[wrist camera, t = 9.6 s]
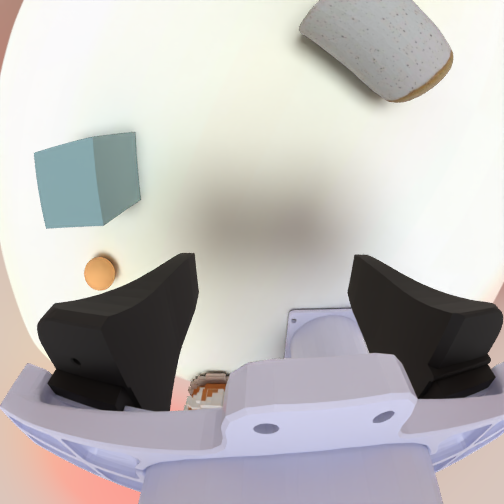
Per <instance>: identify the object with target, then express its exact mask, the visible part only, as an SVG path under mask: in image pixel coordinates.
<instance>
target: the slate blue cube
mask: <svg viewBox="0 0 504 504" xmlns="http://www.w3.org/2000/svg"><path fill="white" fill-rule="evenodd" d="M34 159H35V168H36V176H37V183H38V190H39V196H40V202H41V207H42V212H43V217H44V221H45V226H46V229H47V228H64V227H84V226H104V225H105V224H107V223H108V222H109V221H111V220H112V219H114V218H115V217H116V216H118V215H119V214H121V213H122V212H123V211H125V210H126V209H128V208H129V207H131V206H132V205H134V204H135V203H137V202H138V201H140V200H141V198H140V189H139V179H138V168H137V156H136V140H135V132H130V133H120V134H111V135H103V136H95V137H90V138H86V139H81V140H77V141H73V142H69V143H66V144H62V145H58V146H55V147H52V148H48V149H45V150H42V151H38V152H35V153H34Z"/></svg>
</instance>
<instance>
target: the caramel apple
mask: <svg viewBox="0 0 504 504" xmlns="http://www.w3.org/2000/svg"><path fill="white" fill-rule="evenodd" d="M228 378H229V376H226V374H225V373H224V374H211V373H206V376H198V377H197V379H194V382H191V384H190V386H191V387H189V389H188V391H189V393H190V395H191V396H188V397H187V401H186V405H185V406H184V410H197V409H209V408H218V407H223V403H224V395H225V387H226V384H227V381H228Z"/></svg>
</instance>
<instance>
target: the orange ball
mask: <svg viewBox="0 0 504 504" xmlns="http://www.w3.org/2000/svg"><path fill="white" fill-rule="evenodd" d="M84 276H85V280H86V282H87V284H88V285H89V286H90V287H91V288H93V289H95V290H105V289H107V288H109V287H110V286H111V285H112V283H113V281H114V278H115V270H114V267H113V265H112V263H111V262H110V261H109V260H107V259H105V258H102V257H96V258H93V259H91V260H90V261H89V262H88V263H87V265H86V267H85V271H84Z"/></svg>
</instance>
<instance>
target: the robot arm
mask: <svg viewBox="0 0 504 504" xmlns="http://www.w3.org/2000/svg"><path fill="white" fill-rule="evenodd" d="M198 294H199V289H198V281H197V272H196V263H195V254H194V253H180V254H178V255H176V256H175V257H173V258H171V259H170V260H168V261H167V262H165V263H163V264H162V265H160V266H159V267H157V268H156V269H154V270H152V271H151V272H149V273H147V274H145V275H144V276H142V277H140V278H138V279H136V280H134V281H132V282H130V283H128V284H126V285H124V286H122V287H119V288H117V289H114V290H111V291H108V292H105V293H103V294H99V295H96V296H92V297H88V298H84V299H80V300H75V301H68V302H62V303H55V304H54V305H53V306H52V307H51V308H50V309H49V310H48V311H47V312H46V314H45V315H44V316H43V317H42V318H41V319H40V321H39V322H38V325H37V331H38V336H39V339H40V341H41V344H42V346H43V347H44V349H45V351H46V353H47V354H48V356H49V358H50V359H51V361H52V363H53V364H54V366H55V368H56V370H55V372H54V374H53V375H52V374H51V373H50V372H49V371H47V370H45V369H43V368H40V367H38V366H35V365H33V364H30V363H27V365H26V366H25V368H24V369H23V370H22V372H21V373H20V375H19V376H18V378H17V379H16V381H15V382H14V384H13V385H12V387H11V389H10V390H9V392H8V393H7V395H6V397H5V398H4V400H3V401H2V403H1V405H0V409H1V410H2V411H3V412H4V413H5V414H6V415H7V417H8V418H9V419H10V420H11V421H12V422H13V423H14V424H15V425H16V426H17V427H19V429H20V430H21V431H22V432H23V433H25V434H26V435H27V436H28V437H29V438H30V439H31V440H32V441H33V442H34V443H36V444H37V445H39V446H41V447H42V448H44V449H46V450H48V451H49V452H51V453H53V454H55V455H57V456H59V457H61V458H62V459H64V460H66V461H69V462H70V463H72V464H74V465H76V466H78V467H80V468H82V469H84V470H87V471H89V472H91V473H93V474H95V475H98V476H100V477H102V478H104V479H107V480H109V481H112V482H114V483H117V484H119V485H122V486H125V487H128V488H131V489H133V490H136V491H139V492H141V494H140V499H139V503H138V504H443V501H442V497H441V493H440V489H439V486H438V482H437V479H436V475H435V473H436V472H438V471H440V470H442V469H444V468H446V467H448V466H450V465H452V464H454V463H456V462H457V461H459V460H461V459H463V458H464V457H466V456H468V455H470V454H472V453H473V452H475V451H476V450H478V449H480V448H482V447H483V446H485V445H487V444H488V443H490V442H491V441H493V440H494V439H496V438H498V437H499V436H501V435H502V434H503V433H504V362H502V363H500V364H498V365H496V366H494V367H493V368H492V369H490V367H489V366H488V364H489V363H490V361H491V358H490V357H489V355H488V352H489V350H490V349H491V347H492V345H493V343H494V342H495V340H496V338H497V336H498V334H499V332H500V330H501V327H502V324H503V314H502V312H501V311H500V310H499V309H498V307H497V306H496V305H495V304H493V303H488V302H481V301H474V300H469V299H465V298H460V297H457V296H453V295H450V294H447V293H444V292H441V291H438V290H435V289H433V288H430V287H428V286H426V285H423V284H421V283H419V282H417V281H415V280H413V279H411V278H409V277H407V276H405V275H403V274H402V273H400V272H398V271H396V270H395V269H393V268H391V267H389V266H388V265H386V264H384V263H383V262H381V261H379V260H377V259H375V258H373V257H371V256H369V255H354V261H353V267H352V272H351V278H350V283H349V288H348V297H349V301H350V305H351V308H352V309H324V310H292V311H290V313H289V317H288V327H287V337H286V346H285V355H284V359H267V360H261V361H255V362H249V363H247V364H245V365H243V366H242V367H240V368H239V369H237V370H235V371H234V372H232V373H230V376H229V378H228V381H227V384H226V387H225V395H224V403H223V407H218V408H209V409H197V410H183V411H170V405H171V398H172V390H173V385H174V378H175V374H176V369H177V364H178V359H179V355H180V351H181V348H182V345H183V342H184V339H185V336H186V334H187V331H188V328H189V325H190V323H191V320H192V317H193V314H194V312H195V308H196V304H197V299H198ZM292 319H296V320H292ZM363 337H364V340H365V342H366V345H367V347H366V345H365V342H364V340H363ZM367 348H368V350H369V352H368V350H367Z"/></svg>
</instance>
